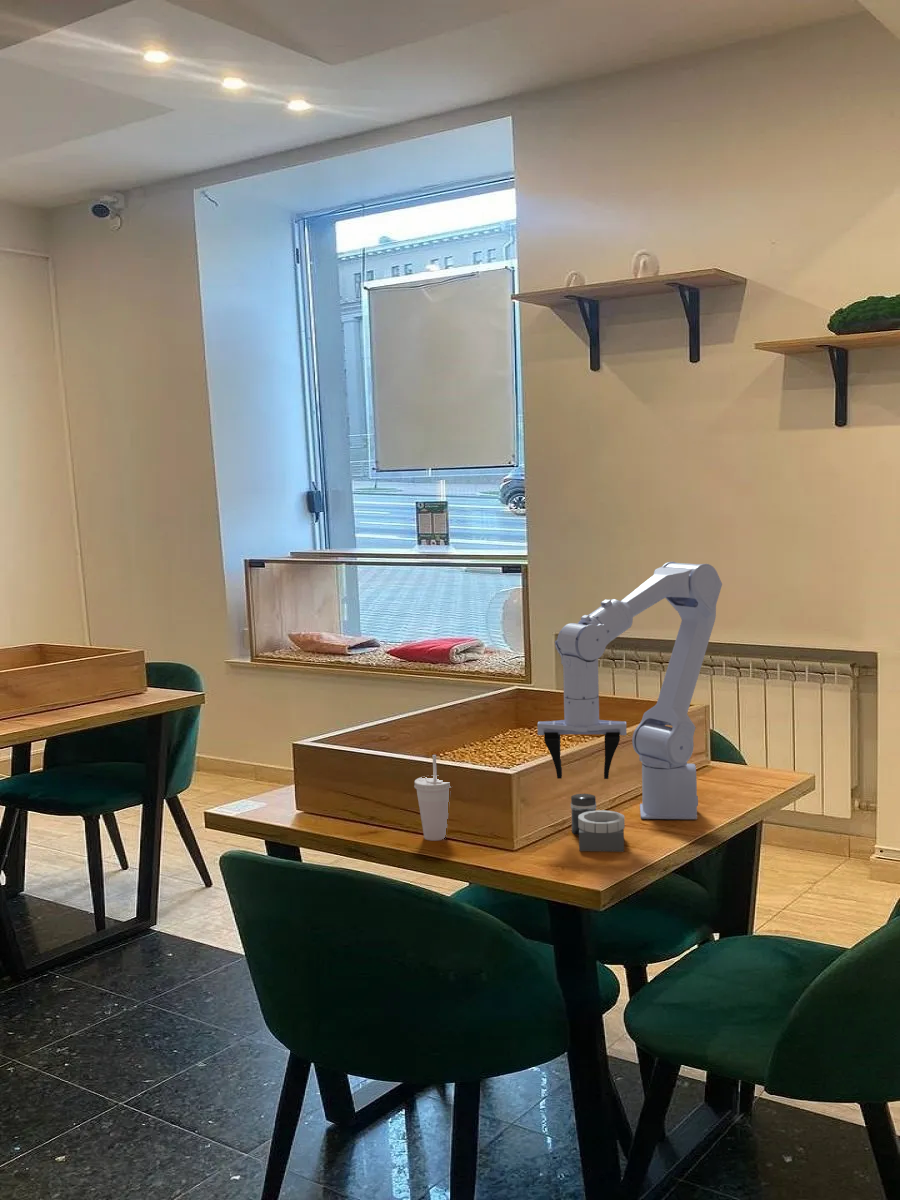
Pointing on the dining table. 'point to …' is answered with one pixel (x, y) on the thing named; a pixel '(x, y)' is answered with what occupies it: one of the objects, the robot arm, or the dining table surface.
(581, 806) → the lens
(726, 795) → the dining table surface
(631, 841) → the dining table surface
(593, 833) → the block with notched collar
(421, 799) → the smoothie
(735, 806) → the dining table surface
